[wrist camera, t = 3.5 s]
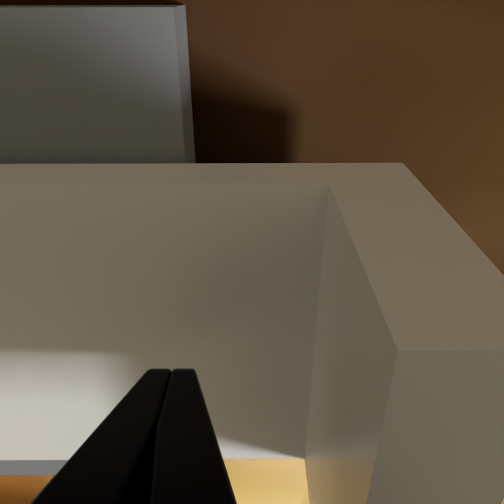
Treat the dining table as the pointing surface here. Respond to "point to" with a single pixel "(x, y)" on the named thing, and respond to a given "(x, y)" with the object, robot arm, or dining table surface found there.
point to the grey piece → (93, 97)
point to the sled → (258, 319)
